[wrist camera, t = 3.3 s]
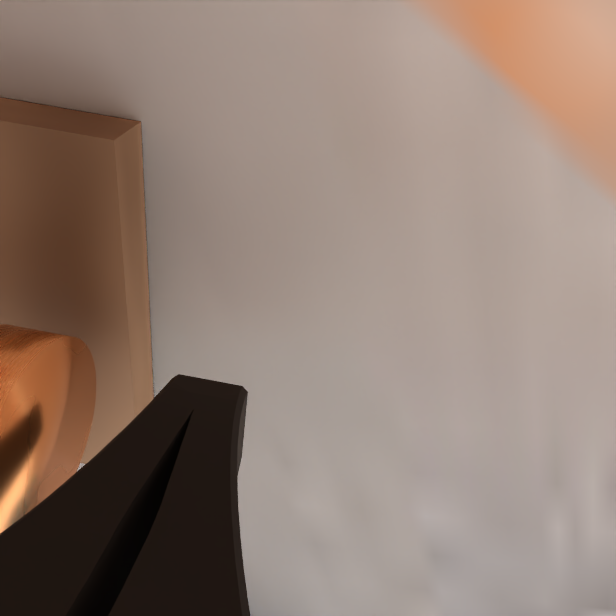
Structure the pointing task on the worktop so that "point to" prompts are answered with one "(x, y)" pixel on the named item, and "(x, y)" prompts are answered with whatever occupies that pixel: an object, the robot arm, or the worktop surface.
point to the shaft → (41, 415)
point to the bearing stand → (79, 247)
